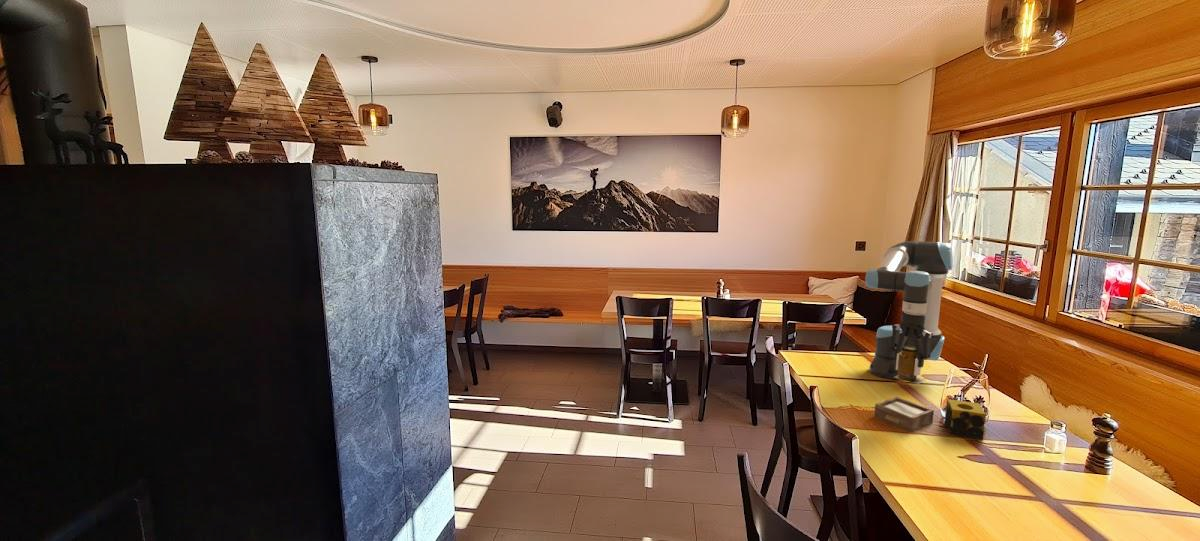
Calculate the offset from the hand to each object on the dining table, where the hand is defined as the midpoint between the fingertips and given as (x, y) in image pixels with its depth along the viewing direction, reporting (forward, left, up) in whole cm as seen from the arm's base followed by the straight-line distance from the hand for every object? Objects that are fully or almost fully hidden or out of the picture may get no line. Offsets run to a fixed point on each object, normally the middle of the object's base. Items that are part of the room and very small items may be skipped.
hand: (907, 371), depth 186 cm
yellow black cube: (-10, +16, -20) cm, 27 cm away
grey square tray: (0, 0, -19) cm, 19 cm away
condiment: (0, +1, -3) cm, 3 cm away
